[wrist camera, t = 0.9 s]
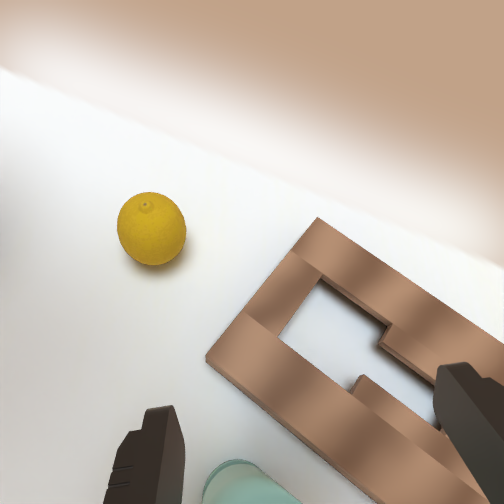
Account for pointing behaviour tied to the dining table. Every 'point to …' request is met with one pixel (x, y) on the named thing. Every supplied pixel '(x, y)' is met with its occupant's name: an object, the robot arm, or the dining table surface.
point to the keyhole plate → (364, 390)
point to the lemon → (151, 228)
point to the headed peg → (243, 486)
